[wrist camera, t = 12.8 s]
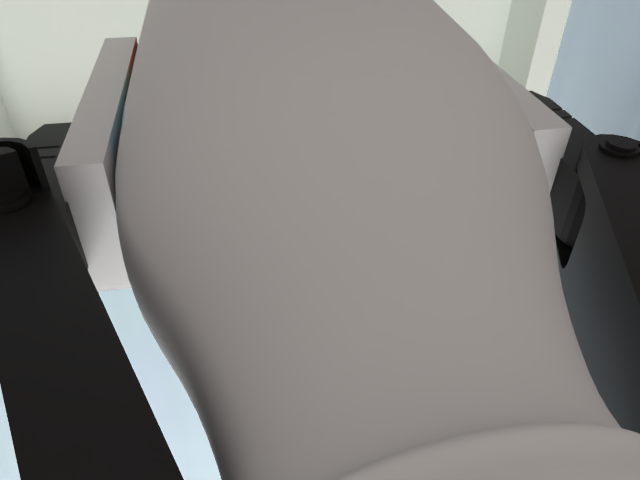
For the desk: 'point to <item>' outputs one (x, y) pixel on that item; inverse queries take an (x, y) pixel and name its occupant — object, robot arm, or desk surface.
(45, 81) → the tray
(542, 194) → the milk bottle
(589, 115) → the desk surface
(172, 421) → the desk surface
